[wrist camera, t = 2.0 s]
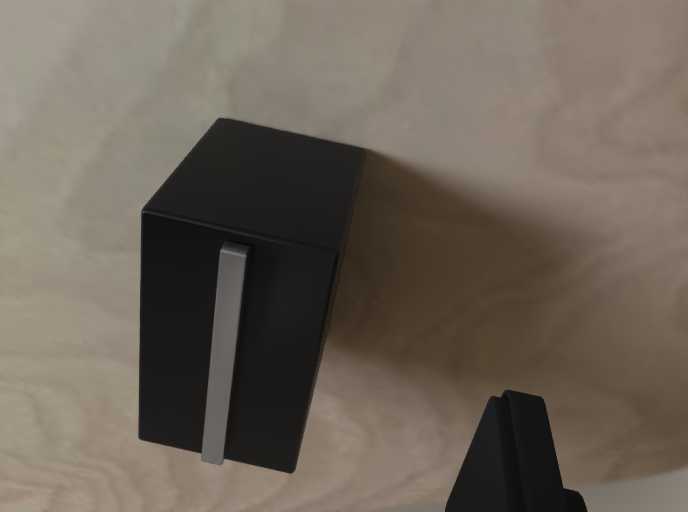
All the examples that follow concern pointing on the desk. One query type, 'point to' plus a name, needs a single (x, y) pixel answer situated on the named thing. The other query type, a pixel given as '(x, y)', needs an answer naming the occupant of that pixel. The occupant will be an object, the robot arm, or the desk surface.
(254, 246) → the clip
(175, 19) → the desk surface
